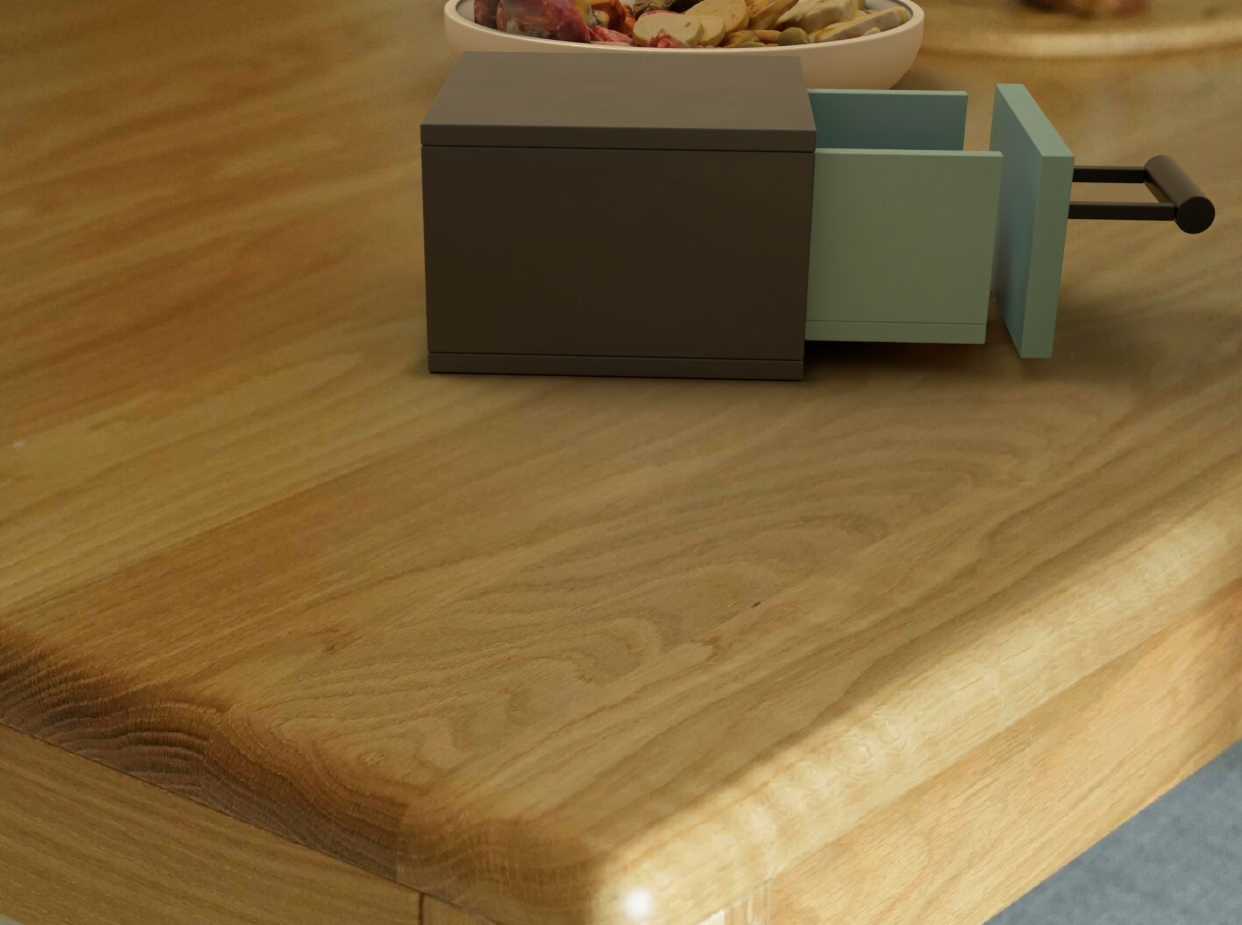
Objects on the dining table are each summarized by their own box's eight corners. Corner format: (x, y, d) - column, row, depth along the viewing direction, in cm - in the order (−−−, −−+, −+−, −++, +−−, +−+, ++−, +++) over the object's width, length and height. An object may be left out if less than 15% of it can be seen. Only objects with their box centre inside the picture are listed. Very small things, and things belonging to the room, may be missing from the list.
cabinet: (788, 273, 90) (800, 55, 86) (802, 380, 77) (817, 130, 73) (467, 267, 91) (462, 50, 87) (427, 372, 78) (419, 123, 74)
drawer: (1146, 265, 89) (1171, 85, 85) (1215, 362, 77) (1247, 159, 73) (701, 256, 89) (707, 78, 86) (701, 351, 78) (708, 149, 74)
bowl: (688, 28, 146) (691, -86, 143) (1016, 93, 126) (1029, -38, 123) (352, 80, 129) (346, -48, 125) (671, 165, 109) (675, 15, 105)
